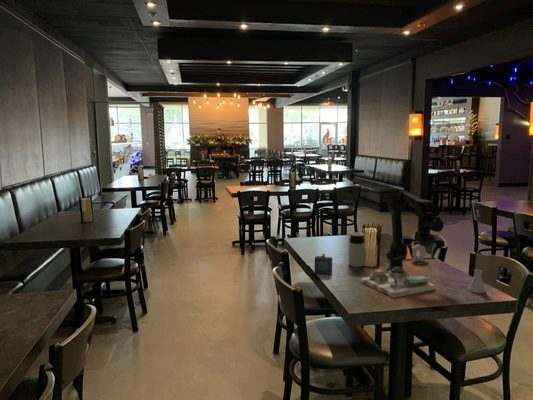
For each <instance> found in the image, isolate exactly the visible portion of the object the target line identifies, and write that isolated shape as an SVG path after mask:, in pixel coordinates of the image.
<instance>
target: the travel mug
mask: <svg viewBox="0 0 533 400" xmlns="http://www.w3.org/2000/svg"><path fill="white" fill-rule="evenodd" d="M349 234H350V238H349V240H348V241H349V244H348V245H349V249H348V250H349V251H348V265H349V266H350V267H353V268H361V267H363V266H364V260H365V259H364V257H365V256H364V255H365V238H364V236H365V234H364V232H359V231H358V232H355V231H354V232H350V233H349Z"/></svg>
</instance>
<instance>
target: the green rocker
mask: <svg viewBox="0 0 533 400" xmlns="http://www.w3.org/2000/svg"><path fill="white" fill-rule="evenodd" d="M405 279H408V280H409V283H418V282H423V281H427V282H428V281H432V277H431V276H428V277H424V275H416V276H413V277H410V278H404V279H401V282H405Z"/></svg>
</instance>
